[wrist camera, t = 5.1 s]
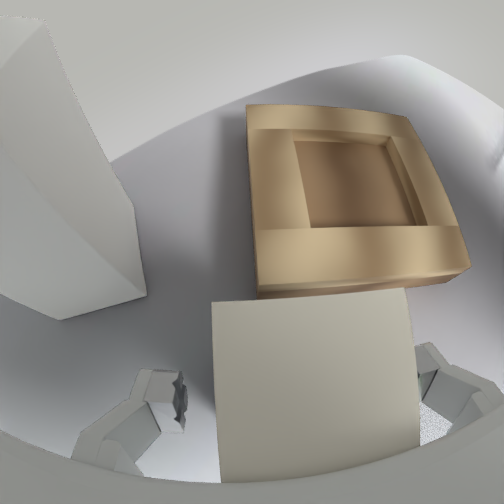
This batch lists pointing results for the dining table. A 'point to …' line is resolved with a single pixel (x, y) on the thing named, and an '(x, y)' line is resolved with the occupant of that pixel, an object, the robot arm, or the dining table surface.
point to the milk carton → (57, 189)
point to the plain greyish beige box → (313, 384)
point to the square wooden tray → (345, 204)
